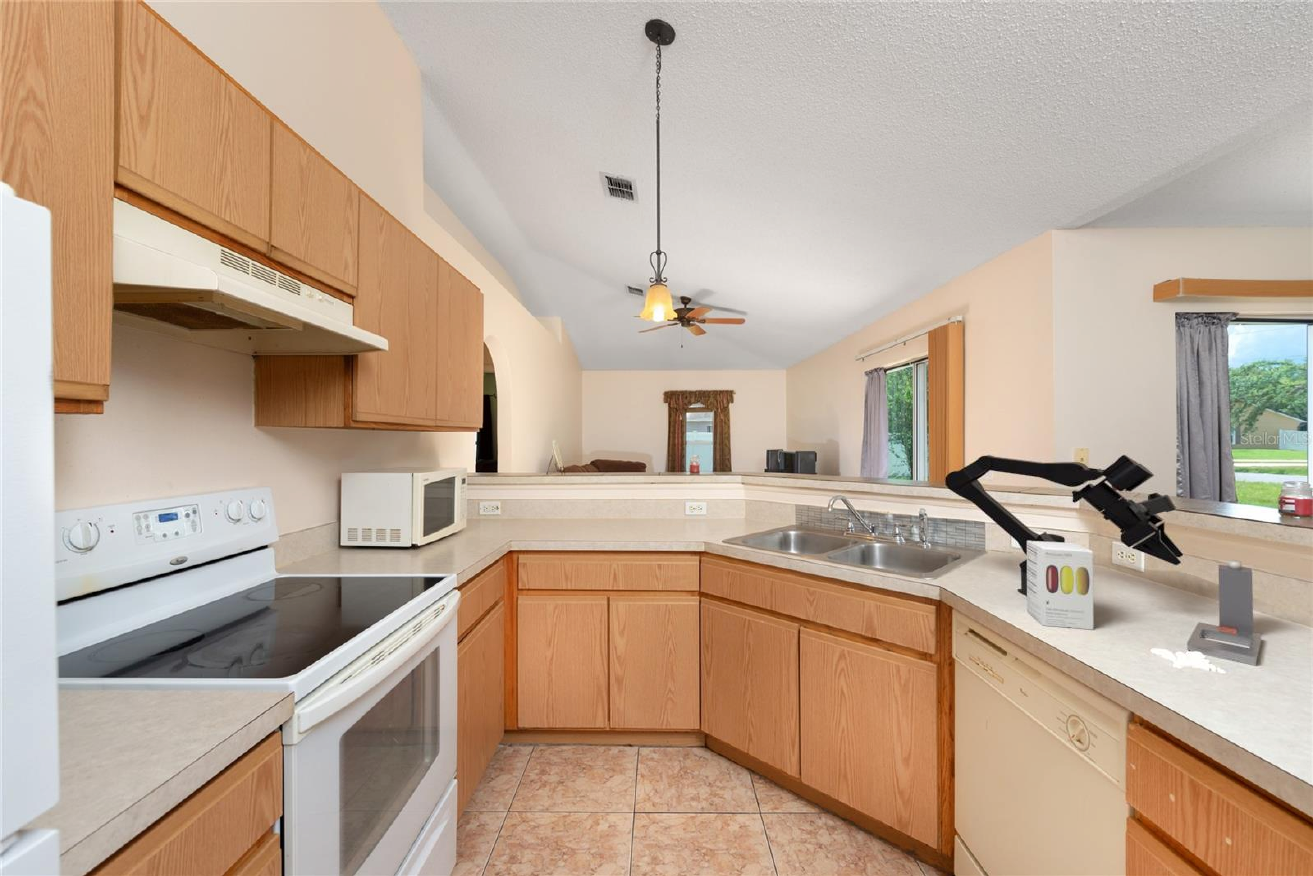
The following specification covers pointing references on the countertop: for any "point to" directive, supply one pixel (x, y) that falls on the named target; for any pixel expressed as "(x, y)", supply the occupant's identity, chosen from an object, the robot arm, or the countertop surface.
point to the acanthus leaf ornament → (1188, 660)
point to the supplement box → (1060, 584)
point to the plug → (1236, 596)
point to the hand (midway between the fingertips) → (1180, 560)
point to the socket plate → (1225, 649)
